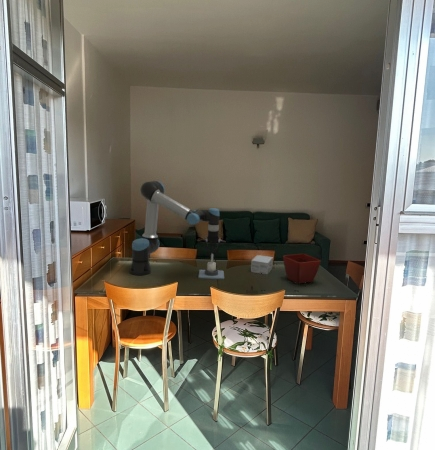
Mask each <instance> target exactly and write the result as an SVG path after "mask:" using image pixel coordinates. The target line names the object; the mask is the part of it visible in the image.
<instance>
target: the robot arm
mask: <svg viewBox="0 0 435 450" xmlns="http://www.w3.org/2000/svg"><path fill="white" fill-rule="evenodd" d="M165 190H166V189H165V186H164V184H163V183H162V182H161V181H158V180H151V181H145V182H143V183H142V185H141V186H140V193H141V196H143V198H144V199H145V200H146V211H145V224H144V233H143V234H142V235H141V238H137V239H134V240H133V241H132V243H131V255H132V256H131V259H132V260H131V263H130V267H129V274H131V275H134V276H146V275H149V274H151V273H152V267H151V263H150V255H151V254H153V253H155V252H156V251H157V250H158V249H159V248H160V240H159V235H158V234H157V229H158V217H159V206H161V207H163V208H165V209H166V210H169V211H170V212H172V213H174V214H176V215H177V216H179V217H181V218H182V219H184V220H186V221H187V223H188V224H189V225H192V226H194V225H197V224H198V223H200V222H207V223H208V227H207V237H206V238H204V239H203V242H204V243H205V248H206V253H207V254H209V259H210V262H211V263H213V262H214V259H215V258H216V254H218V253H219V249H220V246H221V243H222V242H223V240H222V239H221V238H219V235H220V234H219V231H220V216H221V215H220V209H219V208H217V207H216V208H215V207H214V208H213V207H210V208H209V209H208V210H202V209H201V210H200V209H194V210H192V209H190V208H189V207H188V206H186V205H184V204H181V203H180V202H179V201H176V200H174V199H173V198H171V197H170V196H168V195H167V194H165ZM208 242H209V246H208ZM217 242H218V243H217ZM216 245H217V247H216ZM212 247H213V249H212ZM212 250H213V251H212ZM212 252H213V253H212Z"/></svg>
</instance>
